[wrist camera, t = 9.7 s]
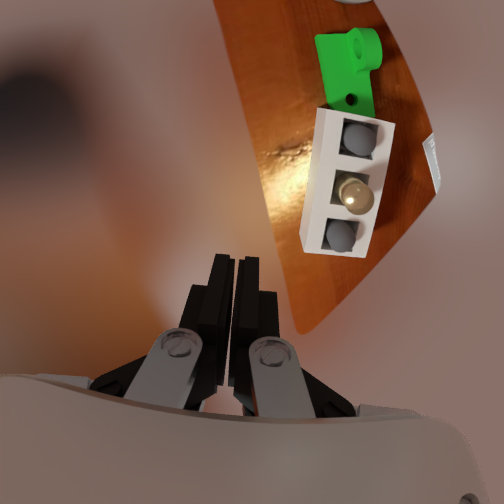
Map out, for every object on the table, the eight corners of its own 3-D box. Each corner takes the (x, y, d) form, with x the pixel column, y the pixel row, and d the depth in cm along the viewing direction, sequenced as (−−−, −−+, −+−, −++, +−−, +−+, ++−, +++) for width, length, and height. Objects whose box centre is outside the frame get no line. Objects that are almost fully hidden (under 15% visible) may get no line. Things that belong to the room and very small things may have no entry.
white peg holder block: (317, 107, 37) (326, 108, 32) (378, 119, 37) (395, 123, 32) (299, 233, 46) (304, 252, 41) (354, 238, 46) (365, 257, 41)
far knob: (323, 209, 42) (332, 226, 37) (347, 212, 42) (358, 229, 37) (319, 231, 44) (326, 251, 39) (342, 234, 44) (352, 253, 39)
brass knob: (335, 170, 37) (348, 183, 32) (361, 174, 37) (377, 187, 32) (331, 196, 39) (342, 213, 33) (356, 200, 39) (370, 217, 33)
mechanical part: (314, 37, 32) (326, 23, 25) (356, 36, 31) (376, 23, 24) (329, 119, 37) (345, 123, 30) (370, 116, 37) (393, 120, 30)
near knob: (337, 119, 36) (350, 123, 31) (362, 124, 36) (378, 129, 31) (334, 145, 38) (345, 153, 33) (359, 149, 38) (373, 158, 33)
